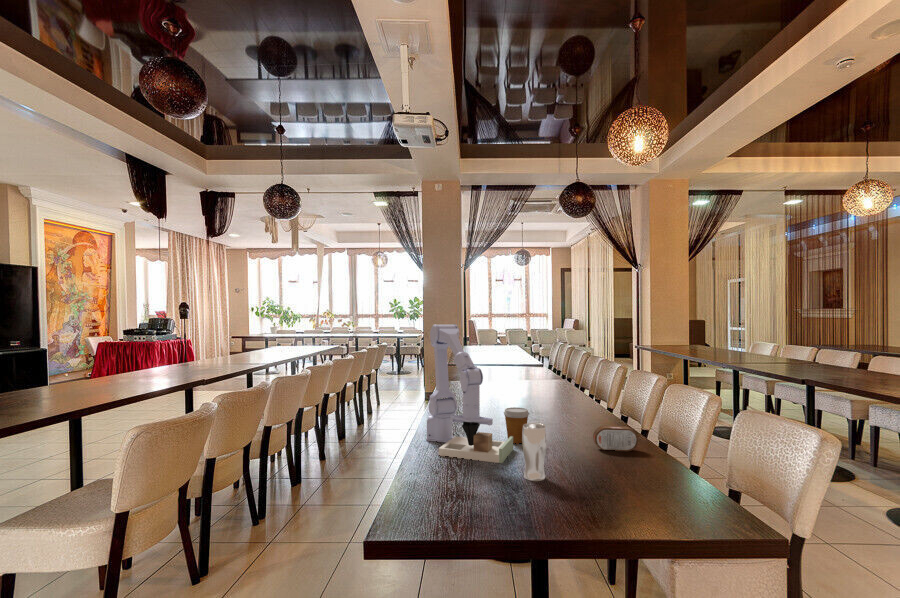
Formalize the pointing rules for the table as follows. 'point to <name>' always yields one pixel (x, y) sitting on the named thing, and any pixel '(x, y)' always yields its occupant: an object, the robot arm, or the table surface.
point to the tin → (615, 438)
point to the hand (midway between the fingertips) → (471, 444)
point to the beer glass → (534, 451)
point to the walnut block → (482, 442)
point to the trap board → (464, 450)
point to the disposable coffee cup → (515, 422)
